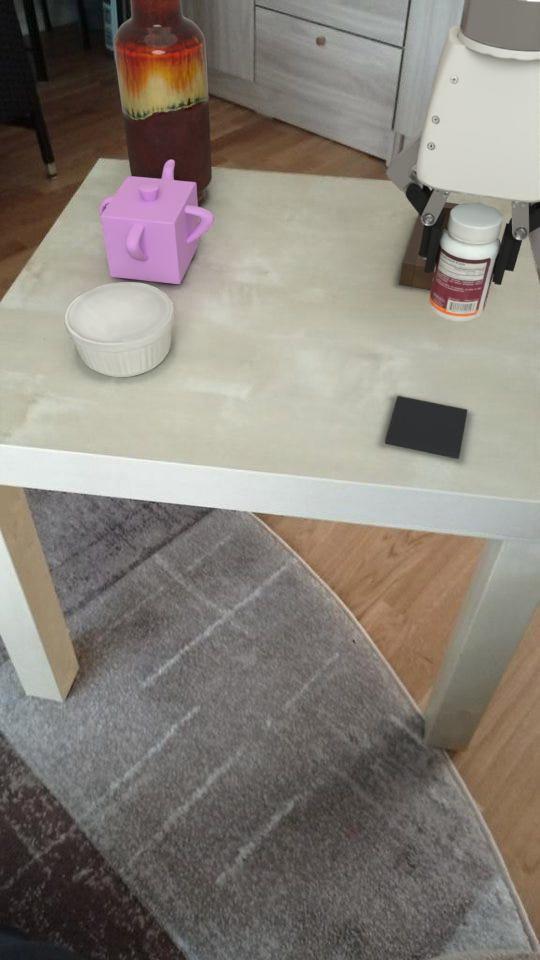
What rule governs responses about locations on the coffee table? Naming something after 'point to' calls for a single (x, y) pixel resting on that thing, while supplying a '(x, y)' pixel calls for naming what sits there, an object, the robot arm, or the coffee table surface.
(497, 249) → the pill bottle
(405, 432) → the mat
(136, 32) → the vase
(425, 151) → the robot arm
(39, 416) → the coffee table surface
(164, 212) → the teapot
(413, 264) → the holder
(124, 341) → the ramekin
